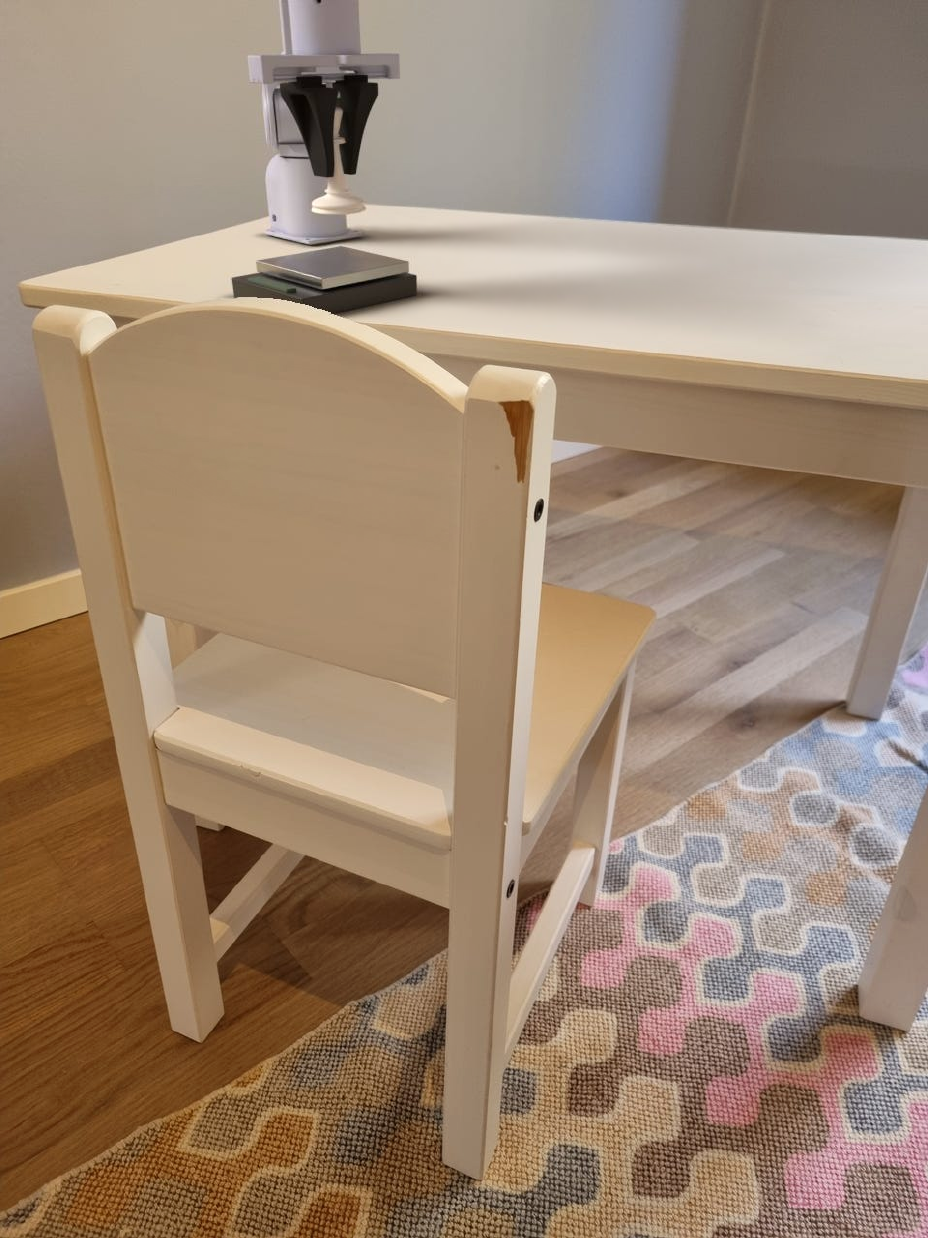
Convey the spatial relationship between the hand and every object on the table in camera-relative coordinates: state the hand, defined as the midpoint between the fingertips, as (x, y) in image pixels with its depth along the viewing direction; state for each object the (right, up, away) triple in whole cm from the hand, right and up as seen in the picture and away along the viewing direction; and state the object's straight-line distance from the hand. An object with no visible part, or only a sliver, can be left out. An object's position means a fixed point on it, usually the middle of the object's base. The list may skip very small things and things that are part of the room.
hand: (334, 174), depth 82 cm
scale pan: (-1, -8, +3) cm, 8 cm away
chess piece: (0, -3, +2) cm, 3 cm away
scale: (-1, -10, +3) cm, 10 cm away
